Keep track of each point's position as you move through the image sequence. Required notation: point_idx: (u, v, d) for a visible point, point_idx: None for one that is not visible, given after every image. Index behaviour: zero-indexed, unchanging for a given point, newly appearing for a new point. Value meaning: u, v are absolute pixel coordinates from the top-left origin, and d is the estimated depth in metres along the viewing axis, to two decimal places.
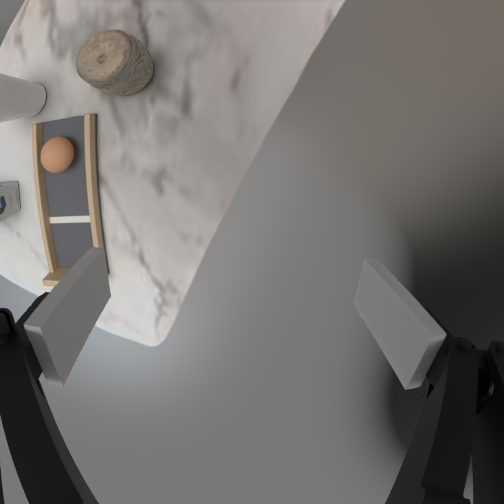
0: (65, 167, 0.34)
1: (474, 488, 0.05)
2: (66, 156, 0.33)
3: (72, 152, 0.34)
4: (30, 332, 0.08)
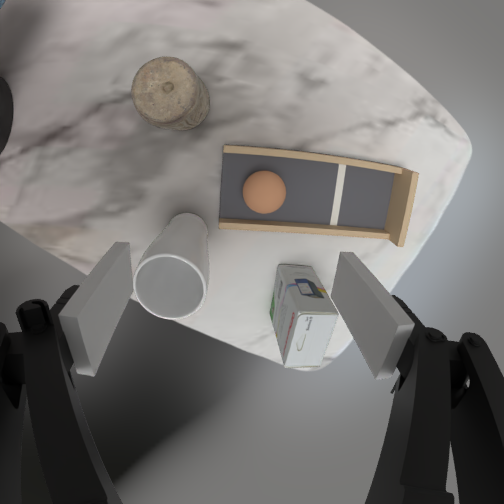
0: (282, 180, 0.34)
1: (458, 484, 0.05)
2: (270, 174, 0.33)
3: None
4: (65, 322, 0.09)
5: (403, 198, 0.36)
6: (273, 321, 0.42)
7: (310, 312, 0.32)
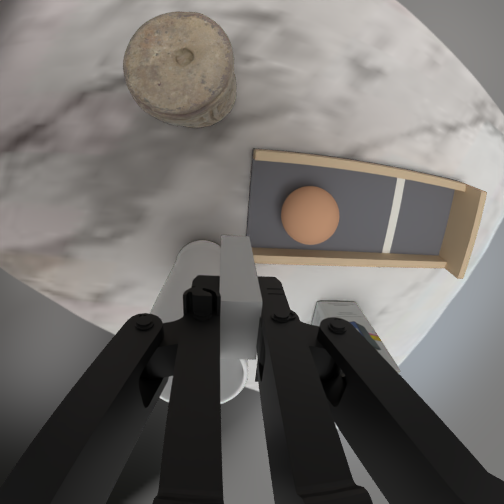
0: (334, 200, 0.25)
1: (377, 482, 0.06)
2: (320, 193, 0.24)
3: (313, 186, 0.25)
4: (224, 308, 0.10)
5: (467, 222, 0.27)
6: None
7: None
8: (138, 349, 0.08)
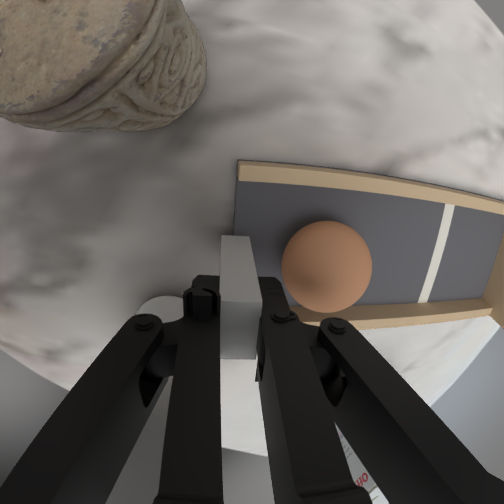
0: (365, 244, 0.16)
1: (377, 482, 0.06)
2: (346, 235, 0.15)
3: (333, 221, 0.16)
4: (224, 308, 0.10)
5: None
6: None
7: None
8: (138, 349, 0.08)
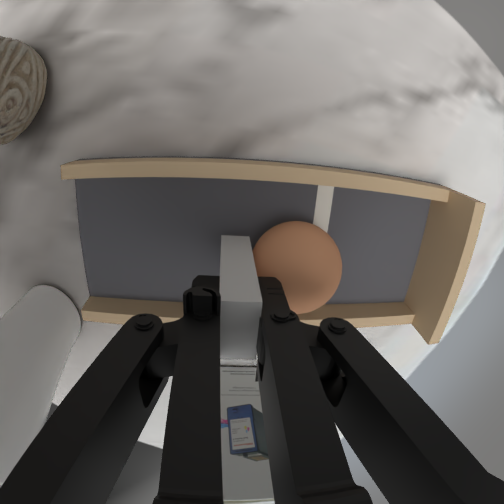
0: (265, 234, 0.16)
1: (377, 482, 0.06)
2: (292, 221, 0.17)
3: (305, 224, 0.15)
4: (224, 308, 0.10)
5: (450, 254, 0.16)
6: None
7: (238, 498, 0.13)
8: (138, 349, 0.08)
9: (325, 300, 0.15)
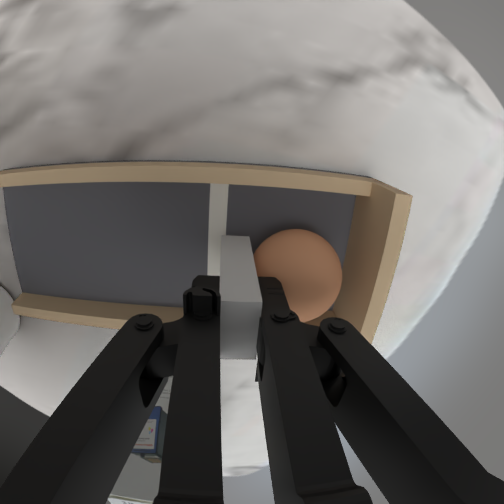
0: (329, 260, 0.14)
1: (377, 482, 0.06)
2: (296, 244, 0.14)
3: (302, 230, 0.15)
4: (224, 308, 0.10)
5: (370, 258, 0.15)
6: None
7: (127, 496, 0.12)
8: (138, 349, 0.08)
9: None
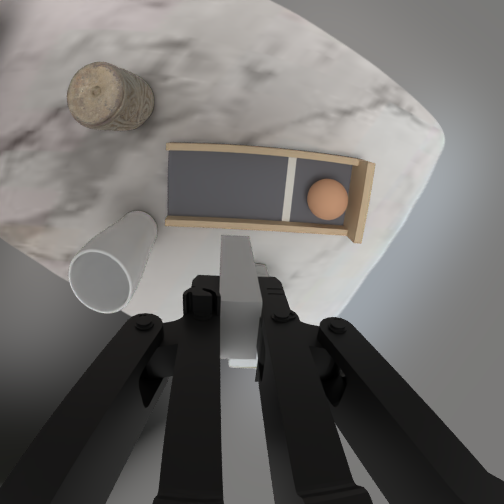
0: (342, 189, 0.34)
1: (377, 482, 0.06)
2: (329, 182, 0.34)
3: None
4: (224, 308, 0.10)
5: (359, 191, 0.35)
6: None
7: None
8: (138, 349, 0.08)
9: None
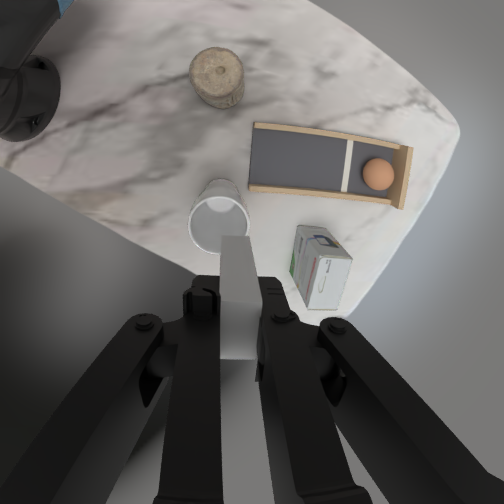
0: (391, 166, 0.41)
1: (377, 482, 0.06)
2: (381, 160, 0.41)
3: None
4: (224, 308, 0.10)
5: (401, 169, 0.42)
6: (294, 275, 0.49)
7: (329, 255, 0.39)
8: (138, 349, 0.08)
9: None
